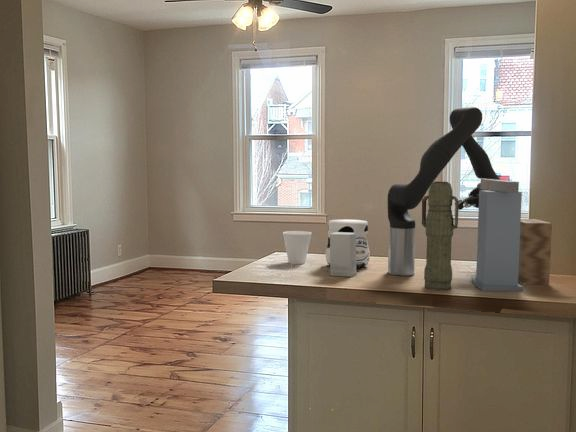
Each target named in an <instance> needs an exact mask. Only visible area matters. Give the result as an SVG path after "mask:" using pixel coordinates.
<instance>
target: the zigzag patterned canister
mask: <svg viewBox="0 0 576 432" xmlns="http://www.w3.org/2000/svg"><path fill="white" fill-rule="evenodd" d="M552 227H553V223H552V222H548V221H545V220H541V219H537V218H536V219H535V218H531V219H530V218H521V224H520V248H519V272H518V283H520V284H522V285H550V272H551V271H550V268H551V255H552V254H551V253H552V250H551V249H552V231H553V229H552Z"/></svg>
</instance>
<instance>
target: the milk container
mask: <svg viewBox="0 0 576 432" xmlns="http://www.w3.org/2000/svg"><path fill="white" fill-rule="evenodd" d="M327 230H328V231H327V235H328V236H327V237H328V238H327V245H326V250H325V261H326V263H327V265H329V266H330V234H332V233H334V232H349V233H356V269H357V268H362V267H363V268H364V267H365V266H367V265H368V264H369V262H370V256H371V253H370V248H369V242H368V237H369V224H368V221H367V220H363V219H362V220H361V219H346V218H345V219H344V218H343V219H331V220H329V221H328V225H327Z"/></svg>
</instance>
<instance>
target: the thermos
mask: <svg viewBox="0 0 576 432" xmlns="http://www.w3.org/2000/svg"><path fill="white" fill-rule="evenodd" d="M453 200H454V205H455V206H454V207H455V208H454V216H453V210H452V207H453ZM458 200H459V199H458V198H457V196H455V195H453V187H452V185H451V183H450V182H448V181H434V182H433V183H431V185H430V187H429V189H428V195H424V197H423V199H422V200H421V225H422V227H424V228H425V236H426V257H425V258H426V261H425V262H426V263H425V264H426V265H425V266H424V271H423V273H424V276H423V277H424V279H423V280H424V288H425V289H428V290H433V291H446V290H451V289H452V281H453V268H452V264H451V263H452V240H453V239H452V238H453V236H454V230H455V229H458V225H459V224H458V223H459V209H458V205H459V201H458ZM427 201H428V204H427ZM427 205H428V209H427Z"/></svg>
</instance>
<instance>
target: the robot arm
mask: <svg viewBox="0 0 576 432" xmlns="http://www.w3.org/2000/svg"><path fill="white" fill-rule="evenodd" d="M482 122H483V113H482V110H481V109H480V108H478V107H475V106H466V107H465V106H464V107H458V108H455V109H453V110H452V111H451V112H450V114H449V124H450V127H451V130H450V131H449V132H447V133H445V134H444V135H442V136H441V137H439V138H438V139H436V140H435V141H433V143H431V144H430V146H429V147H428V148H427V149H426V150H425V152H424V153H423V155H422V157H421V159H420V163H419V170H418V173H417V175H415V177H414V178H413V179H412V180H411V181H410V182H409V183H408V184H407V183H395V184H392V186H390V188H389V190H388V192H387V219H388V221H389V246H388V253H387V254H388V255H387V256H388V257H387V258H388V259H387V264H388V265H387V268H388V269H387V272H388V274H389V275H392V276H394V275H395V276H412V275H415V254H416V251H415V249H416V248H415V247H416V220H415V219H414V218H413V217H411V216H410V214H409V210H413V209H416V208H417V207H418V205H420V203H422V199H423V198H424V197H425V196H426V193H427V192H428V191H429V188H430V185H431V183H434V182H435V181H436V179H437V178H438V176H439V175H440V174H441V172H442V171H443V170H444V169H445V168H446V166H447V165H448V164H449V162H451V160H452V158H453V157H454V156H455V155H456V153H457V152H458V150H460V149H461V147H462V148H463V149H464V151H465V153H466V155H467V157H468V160H469V161H470V164H471V166H472V169H473V171H474V174H475V177H476V178H477V179H480V180H481V179H495V180H502V179H501V178H500V176H499V175H498V174H497V173H496V172H495V170H494V168H493V164H492V163H491V160H490V157H489V155H488V153H487V152H486V150H485V149H484V148H483V147H482V146H481V145H480V144H479V142H477V140H476V139H475V138H474V137H473V134H474V133H475V132H476V131H477V130H478V129H479V128H480V126H481V124H482ZM480 186H481V181H480V182H478V183H477V185H476V187H475V188H473V189H472V190H471V191H470V192H469V194H468V197H466V198H463V199H458V201H459V205H458V211H460V210H463V209H467V208H468V209H469V208H471V207H473V208H476V209H479V190H485V189H480Z"/></svg>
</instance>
